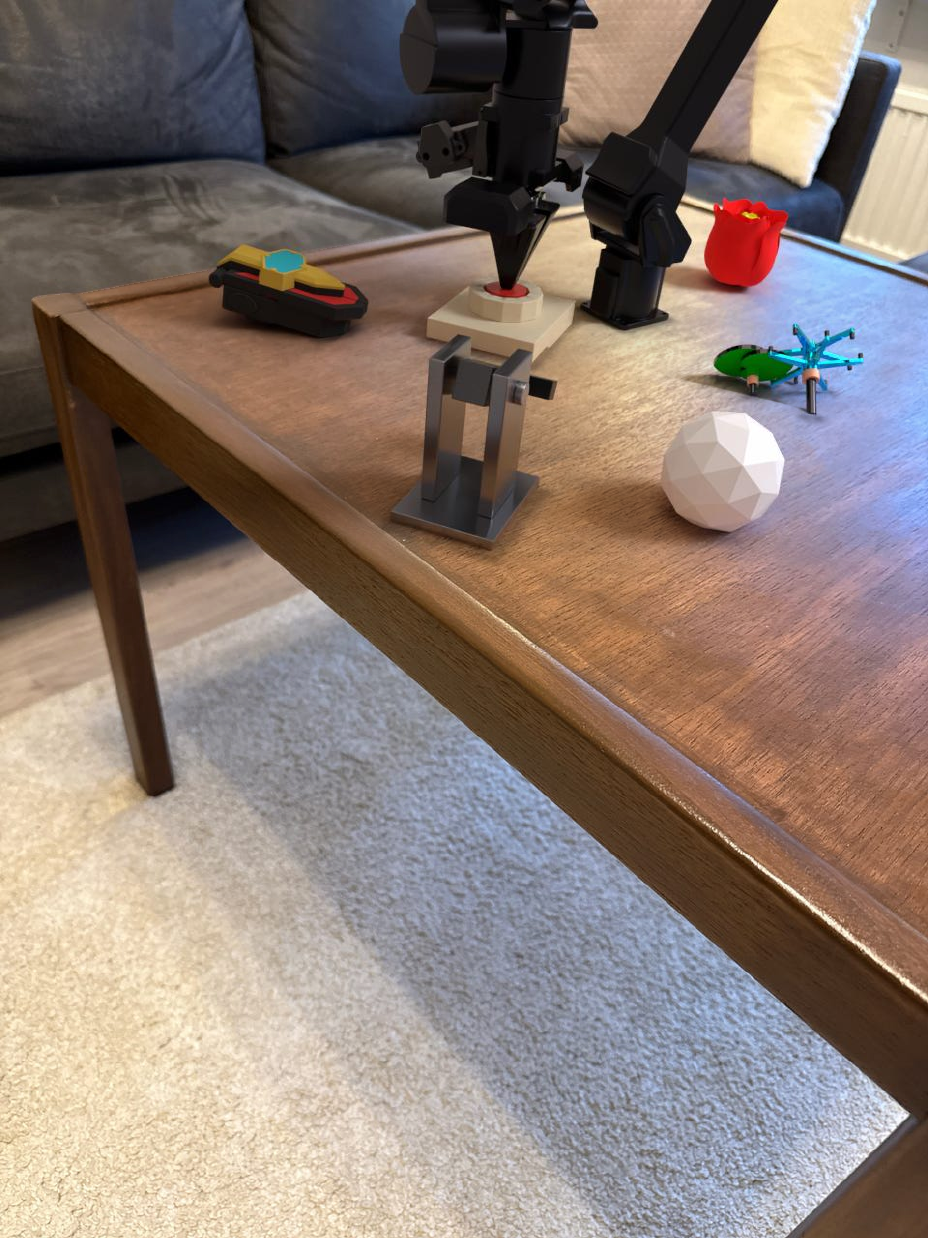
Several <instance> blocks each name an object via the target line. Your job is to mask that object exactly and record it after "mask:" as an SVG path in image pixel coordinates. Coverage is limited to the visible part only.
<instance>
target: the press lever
mask: <svg viewBox="0 0 928 1238" xmlns="http://www.w3.org/2000/svg"><path fill="white" fill-rule="evenodd" d="M500 366H501V365H499V364H495V363H491V362H487V361H483V360H479V359H475V358H474V359H473V358H470V359H459V364H458V368H457V373H456V378H455V383H454V387H453V392H452V397H451V398H452V399H455V400H459V401H462V402H466V404H471V405H474V406H478V407H481V408H489V403H490V394H491V384H492V375H493V373H494V372H495V371H496V370H497V369H498V368H499V367H500ZM557 385H558V381H557V380H556V379H551V378H546V377H544V376H543V377H542V376H539V375H536V374H531V373H530V377H529V393H528V396H529V397H533V398H538V399H541V400H545V401H554V397H555V394H556V391H557V390H556V389H557Z"/></svg>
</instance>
